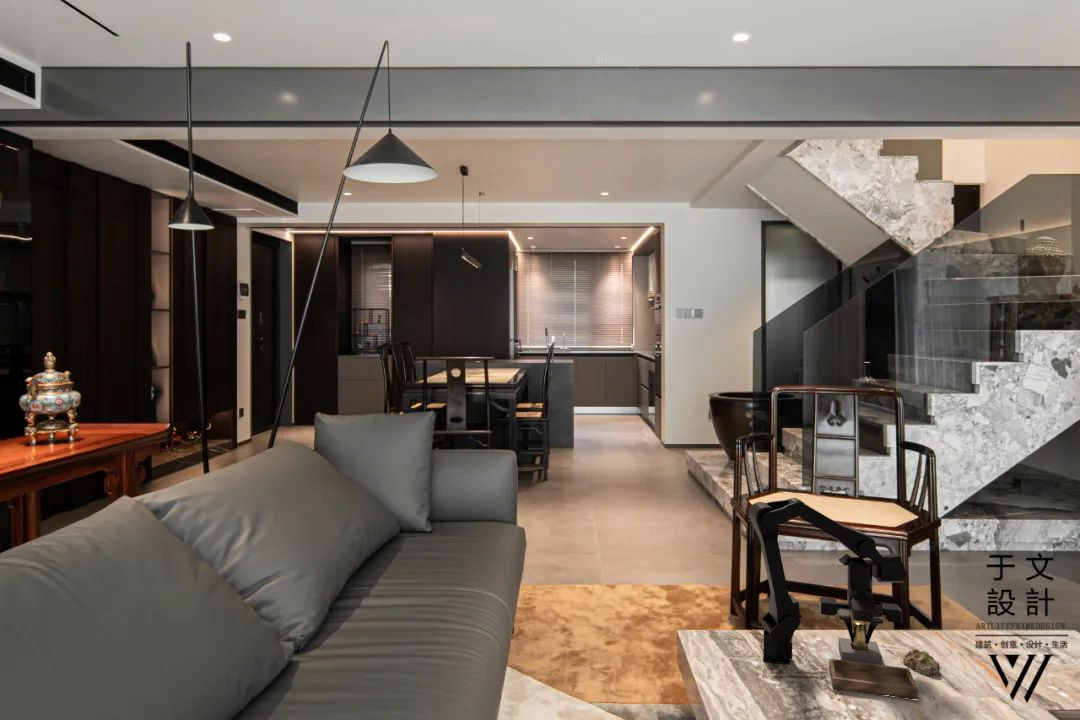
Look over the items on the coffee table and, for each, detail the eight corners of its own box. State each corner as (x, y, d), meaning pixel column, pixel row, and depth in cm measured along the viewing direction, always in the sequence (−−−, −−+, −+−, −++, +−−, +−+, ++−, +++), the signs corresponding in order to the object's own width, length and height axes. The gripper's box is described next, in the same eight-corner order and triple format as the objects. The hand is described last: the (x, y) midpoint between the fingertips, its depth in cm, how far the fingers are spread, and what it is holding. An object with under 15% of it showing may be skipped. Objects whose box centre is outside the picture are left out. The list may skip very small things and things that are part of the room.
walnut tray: (832, 688, 160) (832, 678, 160) (829, 668, 170) (829, 658, 170) (918, 700, 155) (918, 689, 155) (908, 678, 165) (908, 668, 165)
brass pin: (853, 660, 175) (853, 625, 174) (852, 655, 178) (852, 620, 177) (866, 662, 174) (867, 626, 174) (865, 656, 177) (865, 621, 176)
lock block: (842, 663, 173) (842, 651, 173) (838, 648, 181) (838, 637, 181) (881, 668, 170) (881, 656, 170) (876, 653, 178) (876, 641, 178)
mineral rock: (894, 648, 177) (926, 641, 176) (898, 664, 177) (930, 657, 176) (913, 669, 166) (947, 661, 165) (918, 686, 166) (952, 679, 165)
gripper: (822, 588, 171) (822, 651, 171) (907, 596, 165) (906, 661, 165) (819, 574, 181) (819, 633, 181) (898, 581, 175) (898, 642, 176)
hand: (859, 642), depth 176 cm, fingers closed on brass pin, 3 cm apart
